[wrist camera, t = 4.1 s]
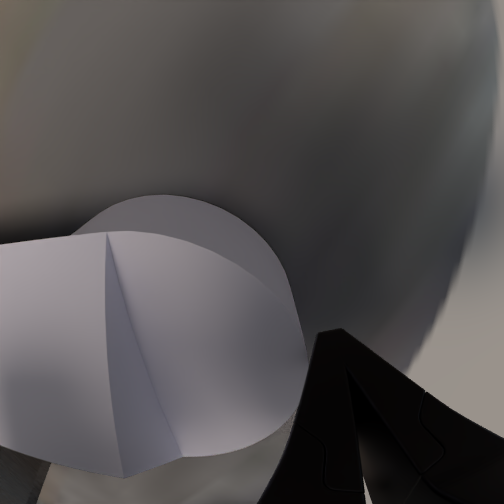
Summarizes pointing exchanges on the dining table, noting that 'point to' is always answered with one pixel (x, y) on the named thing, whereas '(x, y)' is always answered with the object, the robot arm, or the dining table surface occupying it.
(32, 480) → the gauge plunger
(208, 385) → the wedge on round base
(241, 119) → the dining table surface
